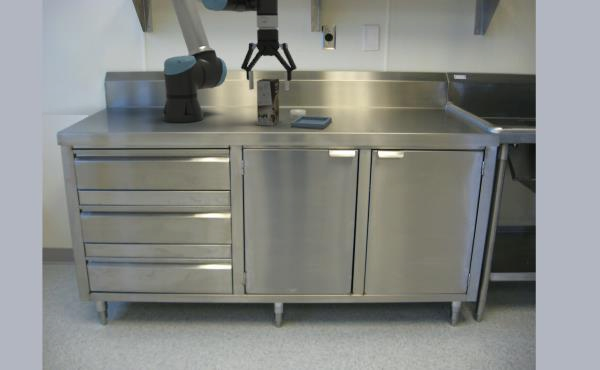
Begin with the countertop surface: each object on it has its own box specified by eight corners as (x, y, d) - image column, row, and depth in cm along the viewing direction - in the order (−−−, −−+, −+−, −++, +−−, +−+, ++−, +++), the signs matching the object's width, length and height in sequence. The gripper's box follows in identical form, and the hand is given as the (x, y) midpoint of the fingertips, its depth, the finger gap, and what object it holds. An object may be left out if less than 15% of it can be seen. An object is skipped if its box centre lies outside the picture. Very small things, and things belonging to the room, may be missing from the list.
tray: (290, 127, 179) (290, 122, 178) (300, 120, 192) (300, 115, 191) (323, 129, 176) (323, 124, 175) (331, 122, 189) (331, 117, 188)
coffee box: (274, 126, 181) (273, 80, 176) (257, 125, 182) (256, 80, 177) (280, 121, 190) (279, 78, 185) (263, 120, 191) (263, 77, 186)
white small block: (288, 120, 193) (288, 111, 192) (292, 117, 198) (292, 108, 197) (303, 121, 192) (303, 111, 190) (307, 118, 197) (307, 109, 196)
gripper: (230, 28, 175) (233, 90, 182) (299, 28, 169) (299, 91, 175) (238, 28, 182) (240, 87, 188) (304, 28, 176) (304, 89, 182)
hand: (269, 89), depth 182 cm, fingers open, 13 cm apart
